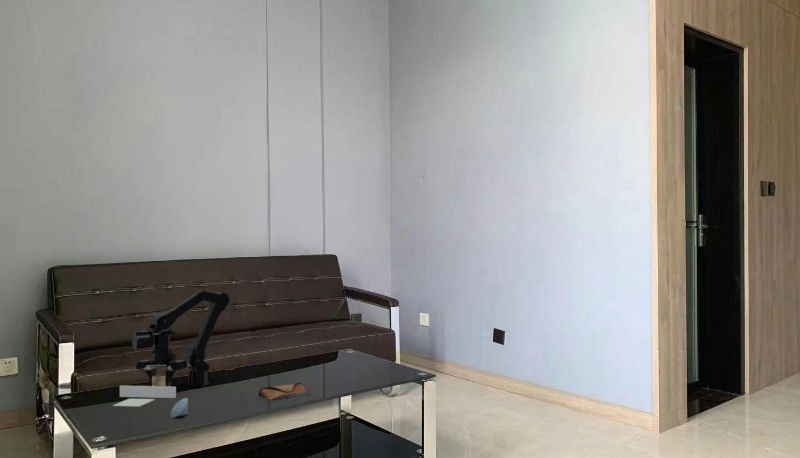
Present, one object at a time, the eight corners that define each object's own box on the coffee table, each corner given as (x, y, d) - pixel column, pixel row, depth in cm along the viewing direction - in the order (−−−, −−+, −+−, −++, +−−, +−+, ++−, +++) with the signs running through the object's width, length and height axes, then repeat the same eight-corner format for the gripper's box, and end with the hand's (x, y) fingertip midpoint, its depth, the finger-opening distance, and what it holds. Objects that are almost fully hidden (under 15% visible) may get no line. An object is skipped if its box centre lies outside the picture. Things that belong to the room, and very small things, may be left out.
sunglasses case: (268, 401, 223) (264, 383, 225) (260, 408, 227) (257, 391, 230) (312, 394, 233) (307, 377, 236) (304, 400, 238) (300, 384, 241)
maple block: (170, 389, 244) (170, 374, 244) (164, 392, 239) (164, 376, 239) (158, 389, 244) (158, 374, 244) (151, 392, 239) (152, 376, 239)
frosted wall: (175, 397, 230) (175, 386, 231) (174, 398, 230) (174, 387, 230) (120, 396, 233) (120, 385, 234) (119, 396, 233) (119, 386, 233)
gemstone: (194, 401, 210) (183, 393, 208) (198, 409, 204) (187, 400, 202) (177, 419, 208) (166, 410, 206) (181, 428, 202) (169, 419, 200)
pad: (154, 400, 227) (154, 399, 227) (139, 406, 217) (139, 405, 217) (129, 399, 228) (129, 398, 228) (113, 406, 218) (113, 405, 218)
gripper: (193, 343, 249) (193, 383, 248) (150, 343, 251) (149, 382, 251) (180, 348, 238) (180, 389, 237) (134, 347, 240) (134, 388, 240)
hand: (161, 386), depth 241 cm, fingers closed on maple block, 5 cm apart
